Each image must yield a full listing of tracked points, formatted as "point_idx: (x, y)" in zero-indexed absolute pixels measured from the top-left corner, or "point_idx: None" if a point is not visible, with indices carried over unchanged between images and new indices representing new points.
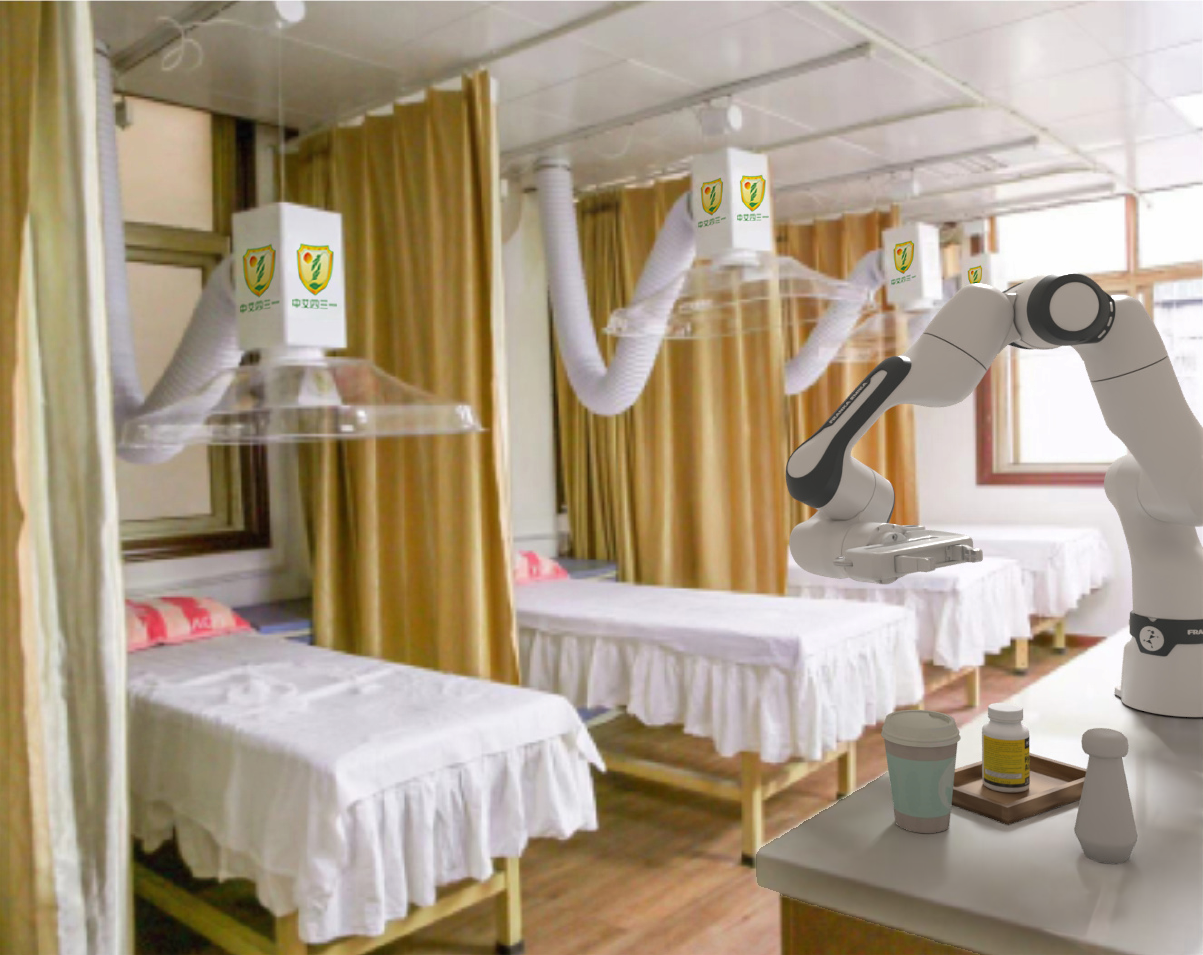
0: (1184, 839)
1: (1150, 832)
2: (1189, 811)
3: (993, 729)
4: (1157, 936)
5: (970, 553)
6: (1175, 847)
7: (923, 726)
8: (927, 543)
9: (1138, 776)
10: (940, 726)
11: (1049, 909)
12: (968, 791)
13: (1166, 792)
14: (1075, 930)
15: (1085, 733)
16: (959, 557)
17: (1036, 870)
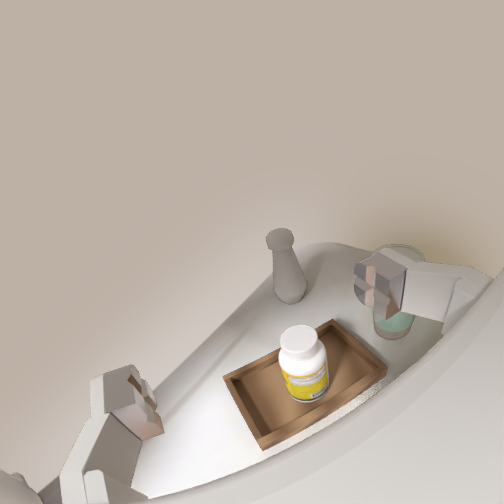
0: (235, 315)
1: (247, 322)
2: (199, 347)
3: (318, 340)
4: (308, 247)
5: (138, 391)
6: (247, 306)
7: (394, 250)
8: (331, 464)
9: (178, 407)
10: (382, 247)
11: (342, 256)
12: (353, 343)
13: (186, 376)
14: (337, 246)
15: (289, 233)
16: (138, 495)
17: (336, 281)
